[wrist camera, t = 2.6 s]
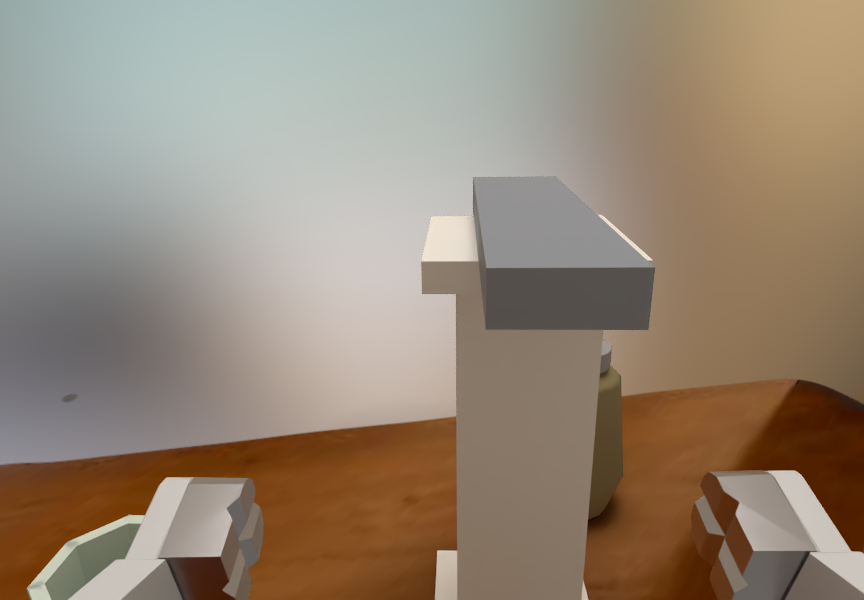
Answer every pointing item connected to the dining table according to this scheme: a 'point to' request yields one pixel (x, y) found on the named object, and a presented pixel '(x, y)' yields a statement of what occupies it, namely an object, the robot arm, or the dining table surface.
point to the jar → (84, 559)
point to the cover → (554, 260)
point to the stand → (515, 439)
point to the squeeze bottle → (606, 436)
